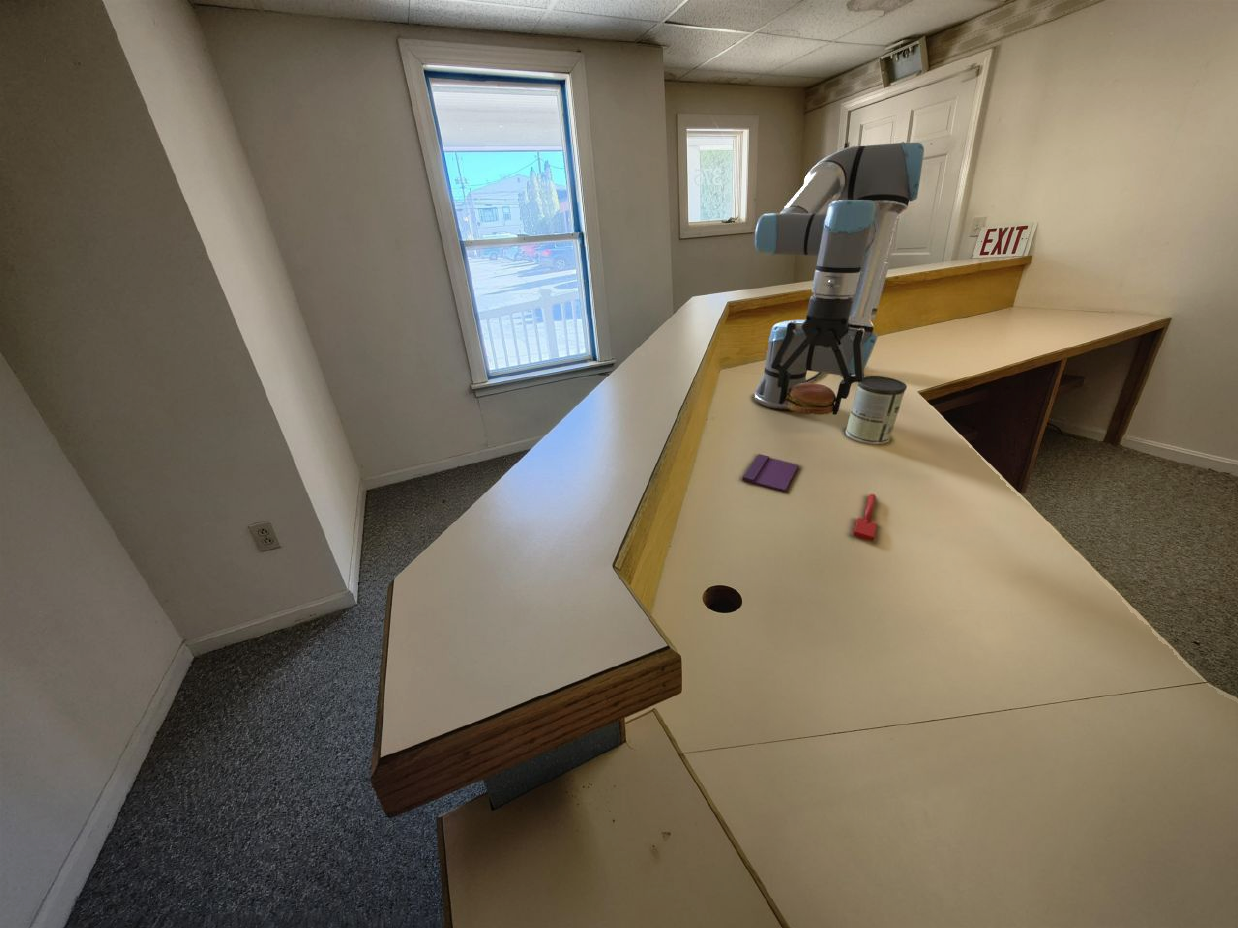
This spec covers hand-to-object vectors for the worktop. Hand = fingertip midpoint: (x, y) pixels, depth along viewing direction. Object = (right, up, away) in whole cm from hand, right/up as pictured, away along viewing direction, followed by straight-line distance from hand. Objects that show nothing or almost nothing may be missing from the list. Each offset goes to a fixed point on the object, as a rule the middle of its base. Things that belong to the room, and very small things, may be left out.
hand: (808, 407), depth 95 cm
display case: (+41, +24, +70) cm, 84 cm away
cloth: (-6, -14, +4) cm, 16 cm away
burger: (0, 0, 0) cm, 0 cm away
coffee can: (+23, -5, +20) cm, 31 cm away
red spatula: (+8, -22, -9) cm, 25 cm away
